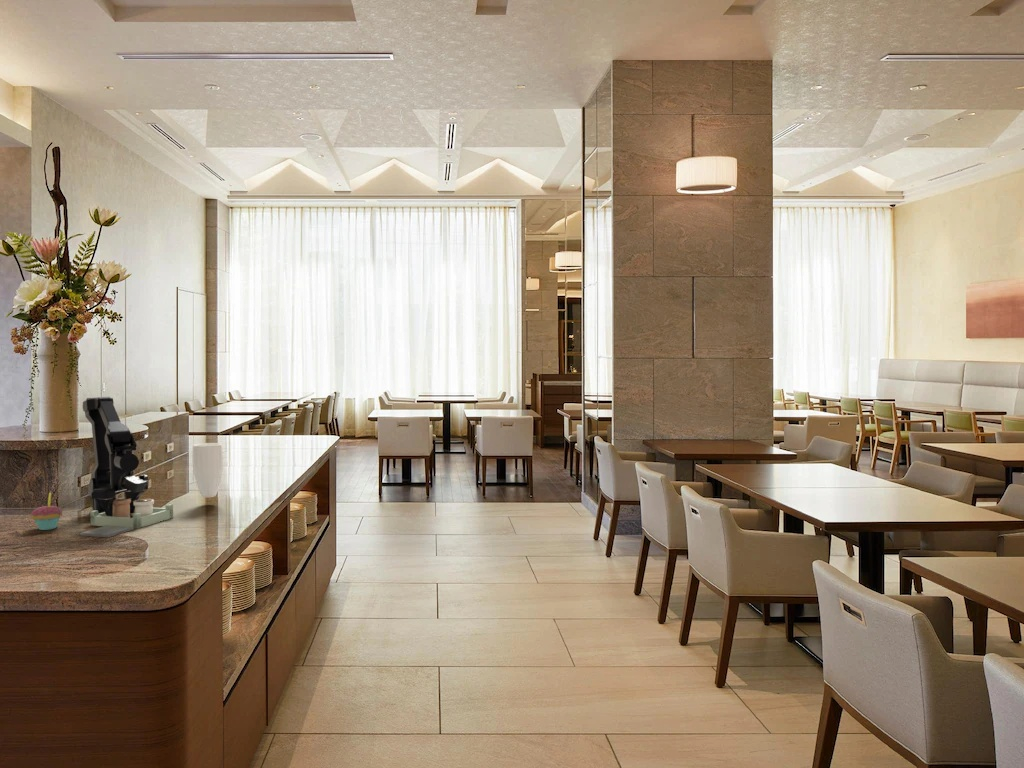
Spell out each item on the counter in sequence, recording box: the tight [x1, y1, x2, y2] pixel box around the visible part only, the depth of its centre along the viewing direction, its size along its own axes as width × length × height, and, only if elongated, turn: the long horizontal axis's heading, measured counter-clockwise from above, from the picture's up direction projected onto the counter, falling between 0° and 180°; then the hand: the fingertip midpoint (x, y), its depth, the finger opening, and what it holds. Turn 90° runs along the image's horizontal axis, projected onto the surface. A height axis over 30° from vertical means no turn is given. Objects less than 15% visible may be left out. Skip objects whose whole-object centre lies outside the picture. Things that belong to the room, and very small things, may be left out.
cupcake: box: [29, 490, 63, 531], centre depth 247 cm, size 9×8×12 cm
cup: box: [192, 442, 224, 498], centre depth 283 cm, size 10×10×22 cm
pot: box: [133, 498, 155, 517], centre depth 255 cm, size 6×6×7 cm
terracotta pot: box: [113, 497, 131, 518], centre depth 258 cm, size 6×6×7 cm
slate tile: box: [80, 526, 134, 538], centre depth 241 cm, size 10×10×1 cm
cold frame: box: [89, 503, 174, 529], centre depth 256 cm, size 18×16×4 cm
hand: (121, 515), depth 258 cm, fingers open, 9 cm apart
